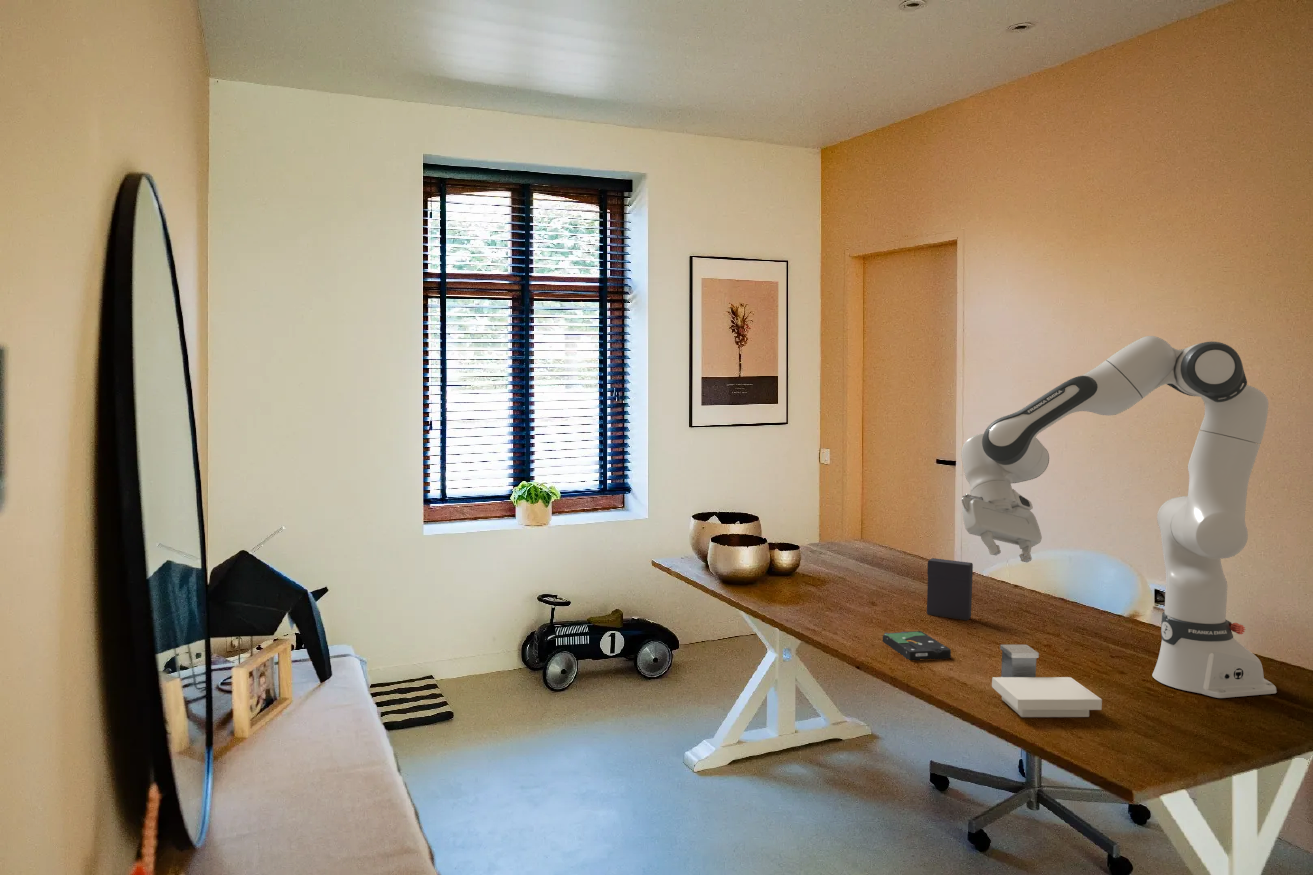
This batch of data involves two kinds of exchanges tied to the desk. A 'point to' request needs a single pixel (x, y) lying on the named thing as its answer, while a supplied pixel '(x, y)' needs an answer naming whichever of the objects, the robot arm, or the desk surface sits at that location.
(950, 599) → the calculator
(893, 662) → the desk surface
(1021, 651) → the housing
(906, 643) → the disk drive
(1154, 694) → the desk surface
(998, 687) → the stand
